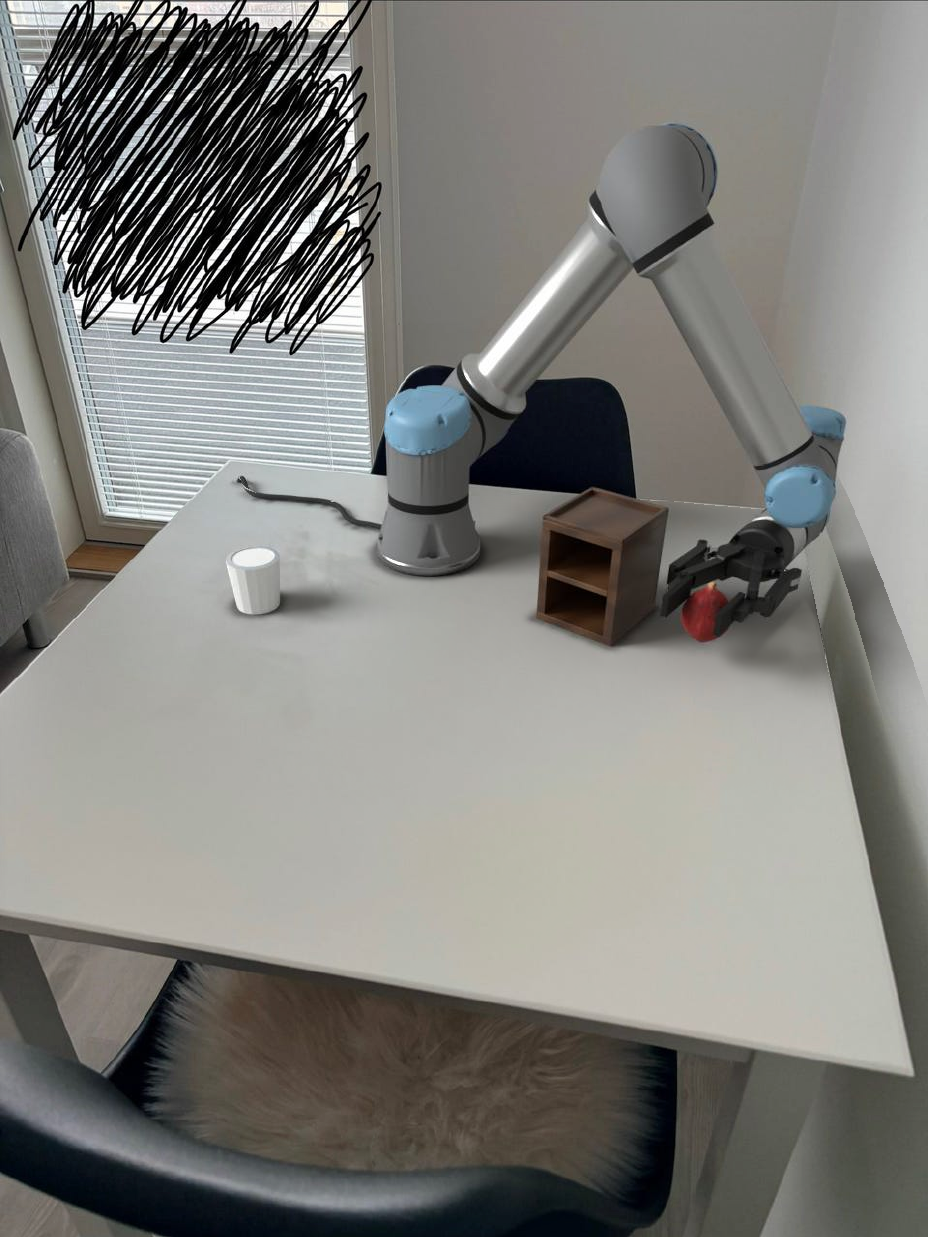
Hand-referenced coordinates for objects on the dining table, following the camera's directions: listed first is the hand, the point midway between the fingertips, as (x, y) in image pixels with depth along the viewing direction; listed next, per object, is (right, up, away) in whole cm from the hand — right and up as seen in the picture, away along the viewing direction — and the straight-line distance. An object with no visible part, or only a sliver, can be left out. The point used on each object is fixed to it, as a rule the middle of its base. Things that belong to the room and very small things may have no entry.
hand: (690, 615), depth 98 cm
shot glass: (-53, +1, +18) cm, 56 cm away
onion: (+3, -3, +7) cm, 8 cm away
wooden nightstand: (-8, 0, +17) cm, 19 cm away
